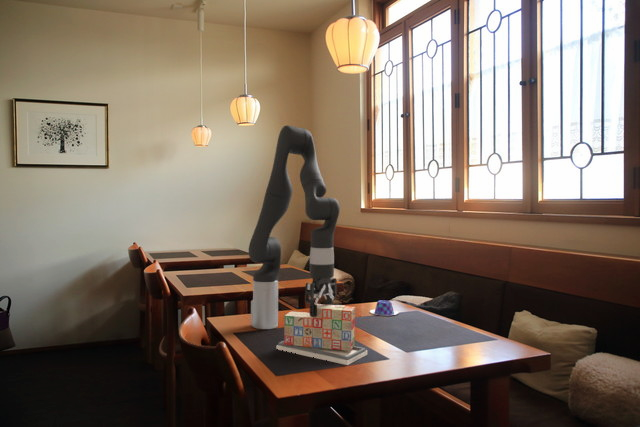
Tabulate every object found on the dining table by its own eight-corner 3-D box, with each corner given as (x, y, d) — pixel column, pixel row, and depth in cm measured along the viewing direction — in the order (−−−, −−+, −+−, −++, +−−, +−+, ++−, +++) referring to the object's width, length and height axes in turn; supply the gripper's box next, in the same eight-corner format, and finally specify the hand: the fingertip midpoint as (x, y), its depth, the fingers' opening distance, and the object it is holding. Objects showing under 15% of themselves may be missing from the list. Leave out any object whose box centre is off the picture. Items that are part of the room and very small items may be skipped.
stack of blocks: (283, 345, 153) (283, 305, 153) (289, 339, 159) (290, 301, 159) (351, 351, 148) (351, 310, 147) (355, 345, 154) (355, 305, 154)
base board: (276, 349, 156) (276, 342, 156) (299, 340, 166) (299, 334, 165) (347, 365, 141) (347, 358, 141) (367, 354, 151) (367, 347, 151)
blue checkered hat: (364, 314, 206) (364, 301, 206) (378, 309, 215) (379, 297, 215) (389, 318, 199) (389, 305, 198) (403, 313, 208) (403, 300, 208)
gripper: (318, 265, 144) (318, 320, 145) (344, 260, 156) (343, 311, 157) (298, 263, 149) (297, 316, 149) (324, 258, 160) (323, 308, 161)
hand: (321, 313), depth 153 cm, fingers open, 8 cm apart
